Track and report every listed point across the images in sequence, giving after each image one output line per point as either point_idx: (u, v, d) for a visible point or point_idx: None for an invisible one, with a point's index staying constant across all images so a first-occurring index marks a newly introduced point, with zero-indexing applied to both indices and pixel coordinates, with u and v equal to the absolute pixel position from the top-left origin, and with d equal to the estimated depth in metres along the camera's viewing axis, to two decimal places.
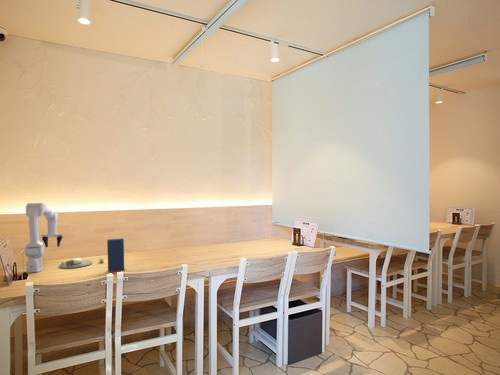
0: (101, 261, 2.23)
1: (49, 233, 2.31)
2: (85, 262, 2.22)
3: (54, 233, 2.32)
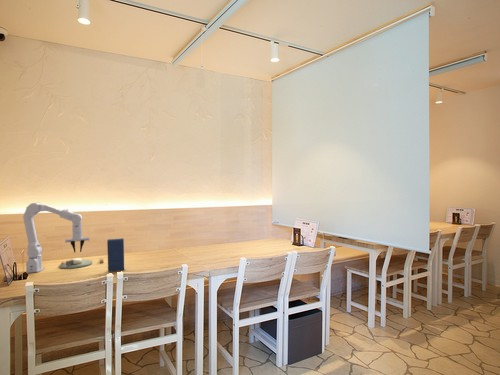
0: (101, 261, 2.23)
1: (75, 237, 2.12)
2: (85, 262, 2.22)
3: (80, 237, 2.14)
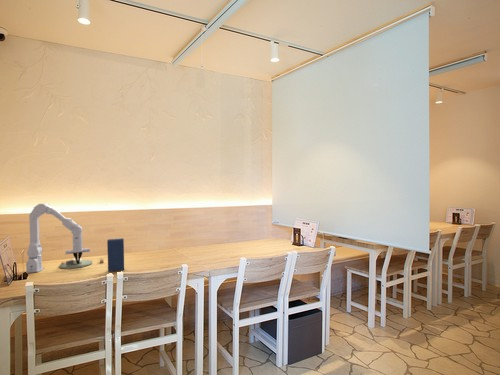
0: (101, 261, 2.23)
1: (76, 249, 2.12)
2: (85, 262, 2.22)
3: (81, 249, 2.14)
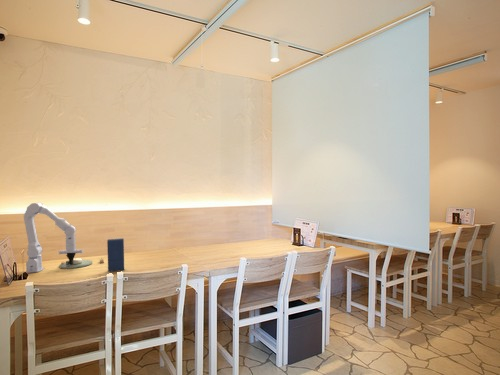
0: (101, 261, 2.23)
1: (67, 249, 2.11)
2: (85, 262, 2.22)
3: (73, 249, 2.12)
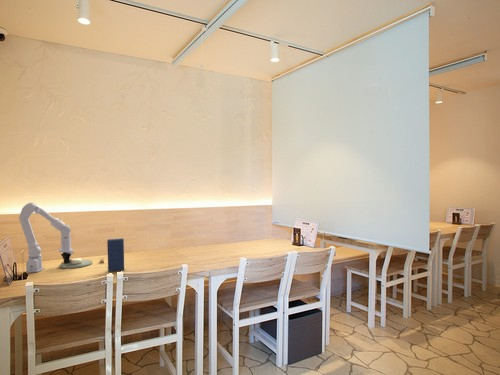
0: (101, 261, 2.23)
1: (61, 249, 2.13)
2: (85, 262, 2.22)
3: (65, 249, 2.13)
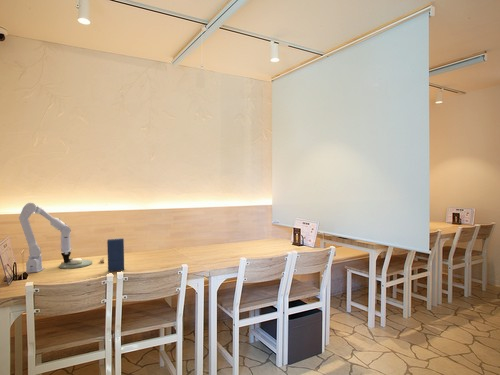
0: (101, 261, 2.23)
1: None
2: (85, 262, 2.22)
3: (62, 249, 2.14)
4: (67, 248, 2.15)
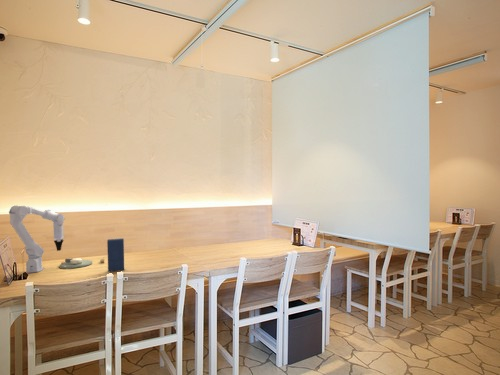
0: (101, 261, 2.23)
1: None
2: (85, 262, 2.22)
3: (55, 236, 2.18)
4: (60, 236, 2.19)
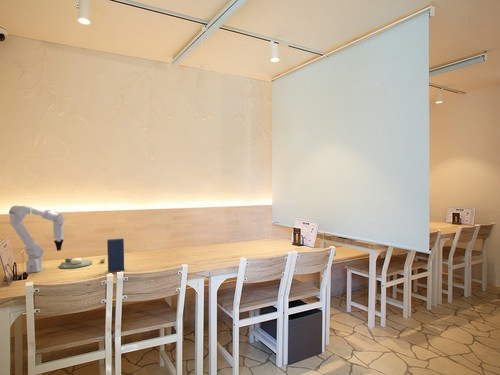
0: (101, 261, 2.23)
1: None
2: (85, 262, 2.22)
3: (55, 236, 2.18)
4: (60, 236, 2.19)
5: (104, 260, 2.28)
